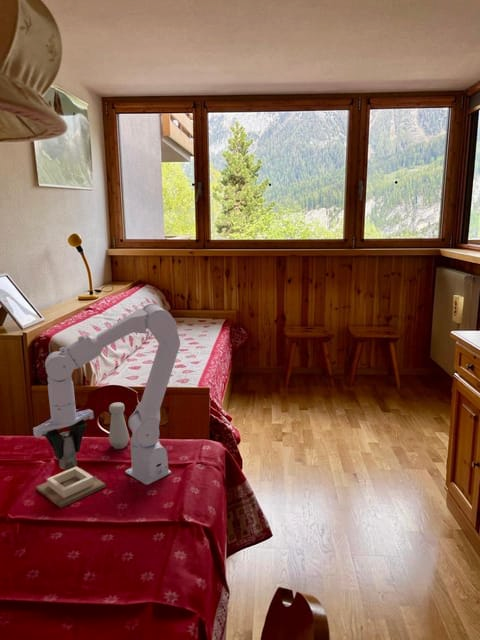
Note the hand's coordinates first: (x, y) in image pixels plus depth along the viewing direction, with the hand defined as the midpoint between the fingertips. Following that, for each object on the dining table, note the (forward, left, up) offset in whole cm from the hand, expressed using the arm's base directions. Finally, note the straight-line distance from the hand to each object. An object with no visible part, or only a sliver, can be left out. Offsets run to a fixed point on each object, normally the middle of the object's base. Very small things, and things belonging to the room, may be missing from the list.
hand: (67, 454), depth 122 cm
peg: (0, 0, -3) cm, 3 cm away
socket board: (0, 0, -9) cm, 9 cm away
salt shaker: (+10, -21, -9) cm, 25 cm away
